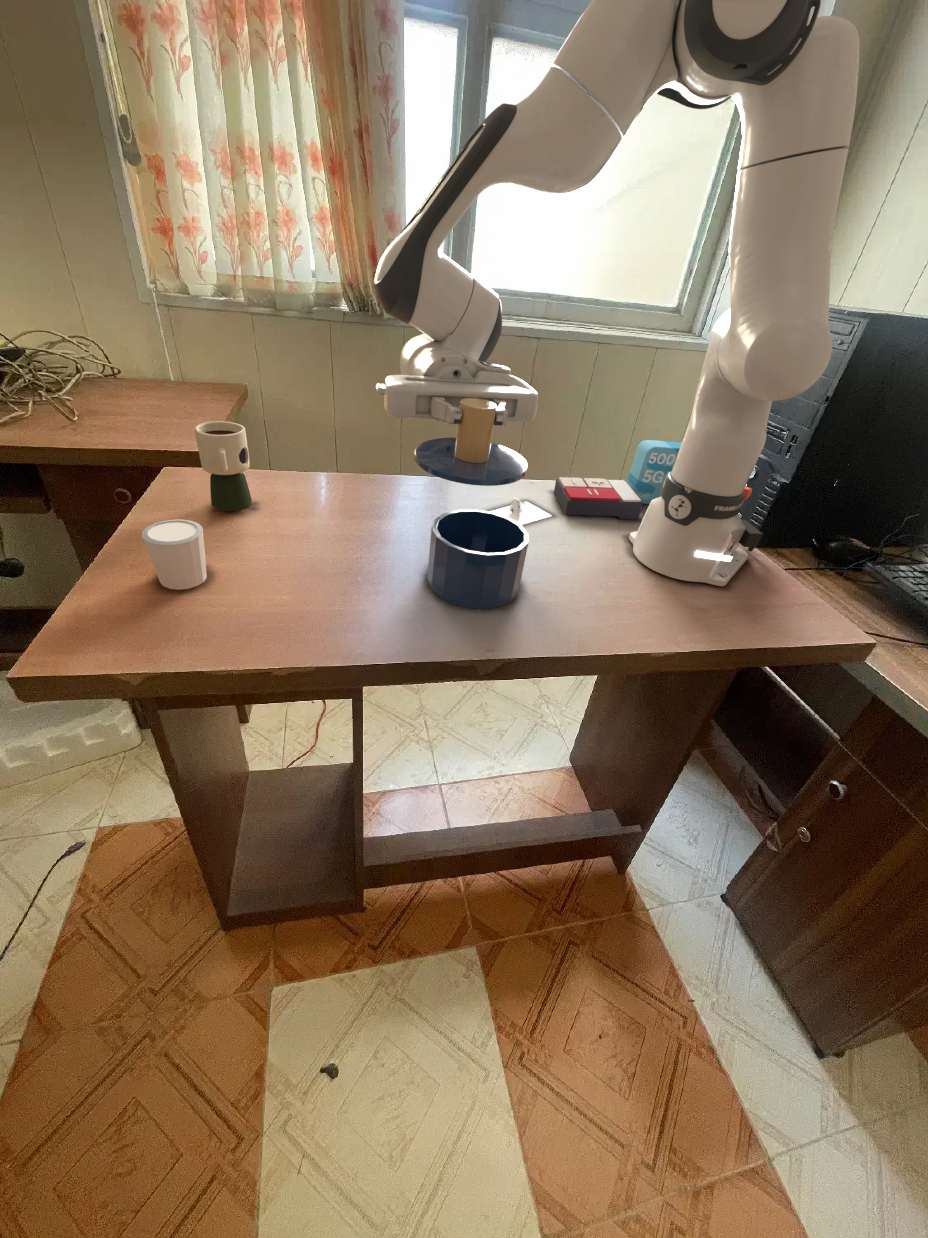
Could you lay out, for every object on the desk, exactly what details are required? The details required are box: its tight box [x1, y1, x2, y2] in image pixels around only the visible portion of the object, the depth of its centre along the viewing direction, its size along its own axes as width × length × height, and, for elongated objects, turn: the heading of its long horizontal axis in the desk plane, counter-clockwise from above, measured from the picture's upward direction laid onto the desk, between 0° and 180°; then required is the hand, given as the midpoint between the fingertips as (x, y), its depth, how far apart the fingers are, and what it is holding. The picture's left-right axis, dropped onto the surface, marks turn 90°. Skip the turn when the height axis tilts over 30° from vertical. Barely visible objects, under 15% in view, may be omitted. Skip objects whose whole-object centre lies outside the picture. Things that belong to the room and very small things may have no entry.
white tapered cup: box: [141, 518, 208, 591], centre depth 67 cm, size 7×7×7 cm
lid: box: [413, 398, 528, 487], centre depth 64 cm, size 14×14×8 cm
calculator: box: [553, 476, 644, 520], centre depth 105 cm, size 11×4×15 cm
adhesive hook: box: [508, 497, 526, 516], centre depth 97 cm, size 3×3×3 cm
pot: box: [426, 509, 530, 610], centre depth 75 cm, size 13×13×8 cm
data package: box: [625, 439, 682, 505], centre depth 109 cm, size 12×4×12 cm, turn 98°
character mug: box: [194, 420, 253, 512], centre depth 83 cm, size 11×7×13 cm, turn 19°
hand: (479, 418), depth 62 cm, fingers closed on lid, 4 cm apart
